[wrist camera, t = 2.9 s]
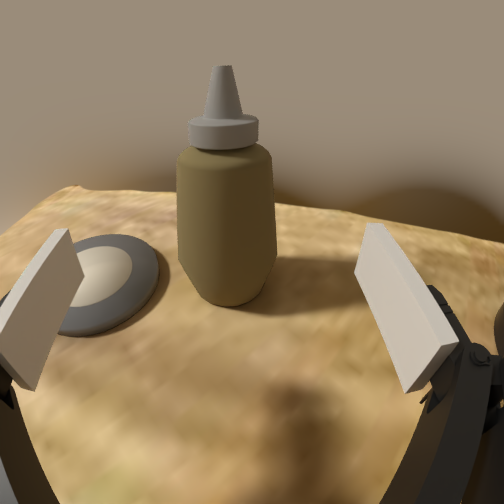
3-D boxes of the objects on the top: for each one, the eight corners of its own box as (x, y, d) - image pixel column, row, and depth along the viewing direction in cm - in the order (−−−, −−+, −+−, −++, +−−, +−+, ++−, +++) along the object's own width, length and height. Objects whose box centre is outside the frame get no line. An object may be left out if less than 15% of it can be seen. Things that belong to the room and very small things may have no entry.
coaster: (166, 322, 23) (163, 313, 22) (21, 344, 19) (15, 336, 19) (155, 232, 34) (153, 224, 33) (48, 253, 30) (46, 246, 29)
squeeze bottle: (168, 279, 27) (140, 73, 17) (237, 247, 31) (235, 65, 21) (218, 334, 22) (199, 66, 12) (293, 288, 26) (313, 68, 16)
